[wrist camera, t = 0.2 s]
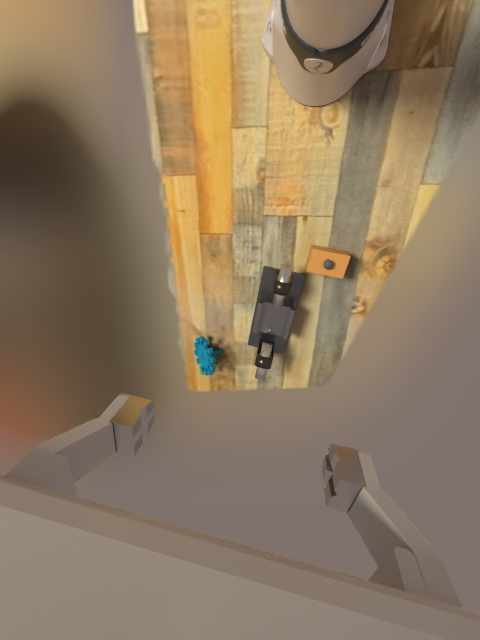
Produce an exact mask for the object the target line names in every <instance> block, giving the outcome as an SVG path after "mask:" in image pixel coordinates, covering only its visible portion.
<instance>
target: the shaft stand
mask: <svg viewBox="0 0 480 640" xmlns="http://www.w3.org/2000/svg"><path fill="white" fill-rule="evenodd" d="M292 269H293V267H291V266H289V265H281V268H280V269H277V268H272V267H267V266H264V268H263V273H262V278H261V283H260V287H259V292H258V297H257V302H256V307H255V312H254V317H253V321H252V326H251V331H250V336H249V341H248V345H251V346H255V347H258V351H257V356H256V360H255V366H257V371H256V375H255V378H256V379H258V380H265V376H266V372H267V369H270V368H271V365H272V361H273V353H274V351H276V352H281V353H283V352H284V349H285V345H286V342H287V338H288V335H289V331H290V328H291V324H292V321H293V317H294V314H295V310H296V307H297V303H298V300H299V296H300V293H301V289H302V286H303V282H304V279H305V274H302V273H297V272H292Z"/></svg>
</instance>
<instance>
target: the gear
mask: <svg viewBox="0 0 480 640" xmlns="http://www.w3.org/2000/svg"><path fill="white" fill-rule="evenodd" d="M207 345H209V341H208V340H205V338H204V337H203V336H202V337H199V338H196V343H195V344H194V346H195V348H196V349H197V350H195V351H194V353H195V355H197V356H198V359H196V361H197V364H199V365H200V370H201V371H200V373H201V375H203V374H205V375H212V374H213V371H214V370H215V365H217V364H216V363H215V358H214V357H212V356H213V355H217V354H220V353H222V350H221V349H220V350H216V351H213V349H212V348H207Z"/></svg>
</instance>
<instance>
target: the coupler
mask: <svg viewBox="0 0 480 640" xmlns="http://www.w3.org/2000/svg"><path fill="white" fill-rule="evenodd" d="M350 257H351V256H350V255H349V254H348V253H347V252H346V251H342V250H337V249H331V248H326V247H321V246H316V245H311V247H310V250H309V254H308V257H307V261H306V265H305V267H306V271H307V272H312V273H316V274H321V275H326V276H331V277H336V278H341V279H343V277H344V274H345V271H346V268H347V265H348V263H349V260H350Z"/></svg>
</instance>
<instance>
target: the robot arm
mask: <svg viewBox="0 0 480 640" xmlns="http://www.w3.org/2000/svg"><path fill="white" fill-rule="evenodd" d="M394 2H395V0H273V1H272V5H271V8H270V12H269V15H268V19H267V22H266V26H265V29H264V33H263V37H262V46H263V48H264V50H265V52H266V53H267V55H268V56H269V57H270V58H271V60H272V61H273V62H274V64H275V67H276V70H277V73H278V76H279V79H280V82H281V84H282V86H283V88H284V89H285V91H286V92H287V93H288V94H289V95H290V96H291V97H292V98H293V99H294V100H296V101H297V102H299V103H301V104H304V105H308V106H322V105H326V104H329V103H331V102H333V101H335V100H337V99H339V98H340V97H341V96H343V95H344V94H345V93H346V92H347V91H349V90H350V88H351V87H352V86H353V85H354V84H355V83H356V82H357V80H358V79H359V78H360V77H361V76H362V75H363V74H365V73H366V72H368V71H370V70H372V69H373V68H375V67H376V66H378V65H379V64H380V63H381V62H382V61H383V59H384V57H385V55H386V52H387V46H388V40H389V33H390V27H391V21H392V14H393V8H394ZM270 30H271V32H270ZM380 44H381V45H380ZM153 407H154V402H153V401H151V400H147V399H143V398H140V397H135V396H132V395H128V394H124V393H122V394H120V395H119V396H118V397H117V398H116V399H115V400H114V401H113V402H112V404H111V405H110V406H109V407H108V408H107V409H106V410H105V412H104V413H103V414H102V415H101V416H100V417H99V418H98V419H93V420H91V421H88V422H87V423H84V424H82V425H80V426H78V427H76V428H73V429H71V430H69V431H67V432H65V433H63V434H61V435H59V436H56V437H54V438H52V439H50V440H48V441H46V442H44V443H41V444H39V445H37V446H35V447H34V448H33V449H32V450H31V451H30V452H29V453H28V454H27V455H25V456H24V457H23V458H22V459H21V460H20V461H19V462H18V463H17V464H16V465H15V466H14V467H13V468H12V469H11V470H10V471H9V472H8V473H7V474H6V475H5V476H3V475H0V640H480V613H479V612H476V611H472V610H469V609H466V608H462V606H461V603H460V601H459V598H458V596H457V594H456V592H455V589H454V587H453V585H452V582H451V580H450V577H449V575H448V572H447V570H446V568H445V565H444V563H443V560H442V558H441V557H440V556H439V554H438V553H437V552H436V551H435V550H434V549H433V547H432V546H431V545H430V544H429V543H428V541H427V540H426V539H425V538H424V537H423V536H422V534H421V533H420V532H419V531H418V530H417V529H416V528H415V526H414V525H413V524H412V523H411V522H410V521H409V519H408V518H407V517H406V516H405V514H404V513H403V512H402V511H401V510H400V509H399V507H398V506H397V505H396V504H395V503H394V502H393V500H392V499H391V498H390V497H389V496H388V495H387V494H386V492H383V491H381V488H380V485H379V482H378V478H377V475H376V472H375V469H374V466H373V463H372V460H371V456H370V454H369V453H368V452H366V451H361V450H357V449H354V448H349V447H345V446H341V445H336V444H331V445H330V446H329V454H328V455H326V456H325V458H324V461H323V466H322V474H323V480H324V481H325V482H326V484H327V485H326V487H325V489H324V492H325V499H326V507H329V508H332V509H336V510H339V511H343V512H346V513H348V514H347V515H348V516H349V518H350V520H351V521H352V523H353V525H354V527H355V528H356V530H357V532H358V533H359V535H360V537H361V539H362V540H363V542H364V544H365V545H366V547H367V549H368V550H369V552H370V554H371V556H372V557H373V559H374V561H375V563H376V564H377V566H378V569H377V570H376V571H375V572H374V574H373V575H372V576H371V577H370V578H369V580H365V579H361V578H358V577H354V576H350V575H347V574H344V573H340V572H337V571H333V570H330V569H326V568H323V567H319V566H316V565H312V564H309V563H305V562H302V561H298V560H295V559H291V558H288V557H285V556H281V555H277V554H274V553H271V552H267V551H263V550H260V549H257V548H253V547H250V546H246V545H243V544H240V543H236V542H233V541H229V540H226V539H222V538H219V537H215V536H212V535H208V534H205V533H201V532H198V531H194V530H191V529H187V528H184V527H180V526H177V525H174V524H170V523H167V522H163V521H160V520H156V519H153V518H149V517H146V516H142V515H139V514H135V513H132V512H128V511H125V510H121V509H118V508H114V507H111V506H107V505H104V504H100V503H96V502H93V501H90V500H86V499H83V498H80V497H78V496H77V490H76V487H75V482H76V481H77V480H79V479H80V478H82V477H83V476H84V475H86V474H87V473H89V472H90V471H92V470H93V469H94V468H96V467H97V466H99V465H100V464H101V463H103V462H104V461H106V460H107V459H109V458H110V457H111V456H113V455H114V454H116V452H119V453H123V454H128V455H132V456H135V455H136V453H137V451H138V450H139V448H140V447H141V445H142V443H143V441H142V438H143V437H144V436H146V435H148V433H149V431H150V430H151V427H152V425H153V422H154V413H153V412H152V409H153Z"/></svg>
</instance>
